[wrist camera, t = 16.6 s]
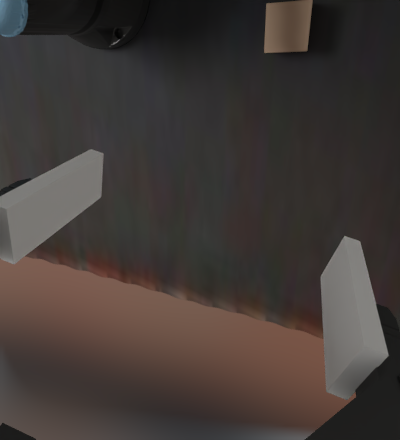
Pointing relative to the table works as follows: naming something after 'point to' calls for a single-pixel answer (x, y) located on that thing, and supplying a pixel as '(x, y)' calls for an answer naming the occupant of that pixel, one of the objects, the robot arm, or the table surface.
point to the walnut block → (287, 26)
